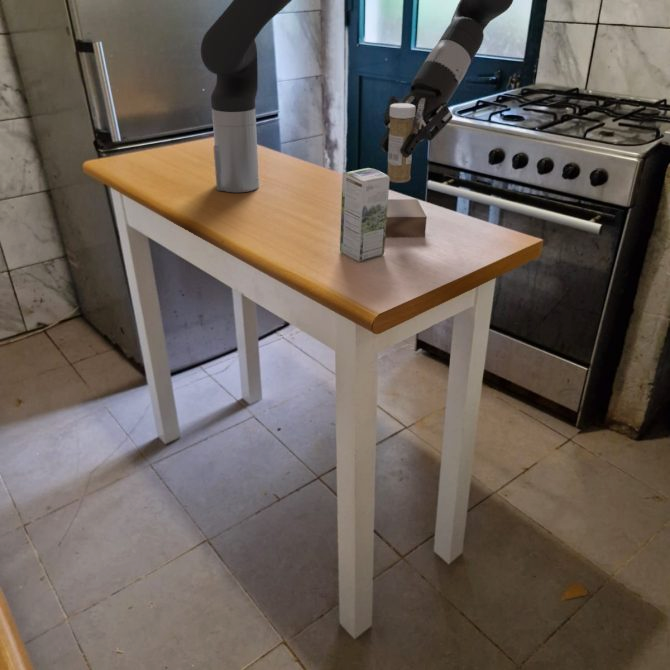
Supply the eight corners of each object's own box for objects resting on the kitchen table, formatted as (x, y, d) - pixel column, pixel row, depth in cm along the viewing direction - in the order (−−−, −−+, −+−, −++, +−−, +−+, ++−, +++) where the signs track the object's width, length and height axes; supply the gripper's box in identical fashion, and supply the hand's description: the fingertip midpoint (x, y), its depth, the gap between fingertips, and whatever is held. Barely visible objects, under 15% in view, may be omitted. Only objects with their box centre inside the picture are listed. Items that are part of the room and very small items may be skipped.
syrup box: (364, 245, 115) (367, 166, 107) (385, 255, 111) (390, 174, 103) (339, 252, 112) (340, 171, 104) (360, 263, 108) (363, 180, 100)
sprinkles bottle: (415, 181, 117) (420, 106, 110) (394, 184, 115) (398, 108, 108) (402, 175, 120) (407, 101, 113) (381, 178, 119) (385, 103, 112)
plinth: (372, 237, 118) (373, 217, 116) (366, 218, 126) (367, 199, 124) (424, 237, 118) (426, 216, 116) (415, 218, 127) (417, 199, 125)
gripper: (403, 55, 116) (355, 132, 115) (466, 63, 107) (415, 147, 106) (419, 82, 122) (374, 156, 121) (480, 92, 113) (432, 172, 112)
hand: (393, 151), depth 114 cm, fingers closed on sprinkles bottle, 4 cm apart
